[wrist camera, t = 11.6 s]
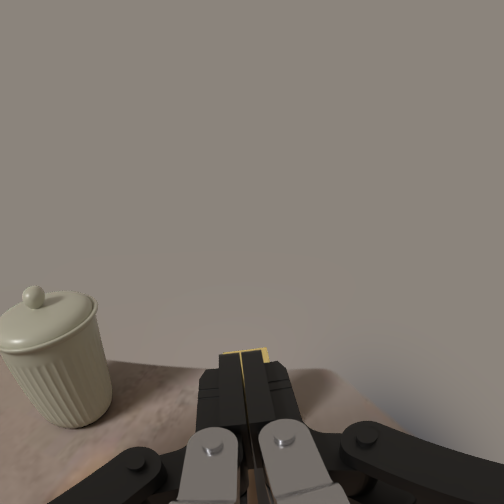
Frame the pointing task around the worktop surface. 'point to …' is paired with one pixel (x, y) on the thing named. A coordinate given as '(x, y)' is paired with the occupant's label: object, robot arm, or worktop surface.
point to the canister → (57, 355)
